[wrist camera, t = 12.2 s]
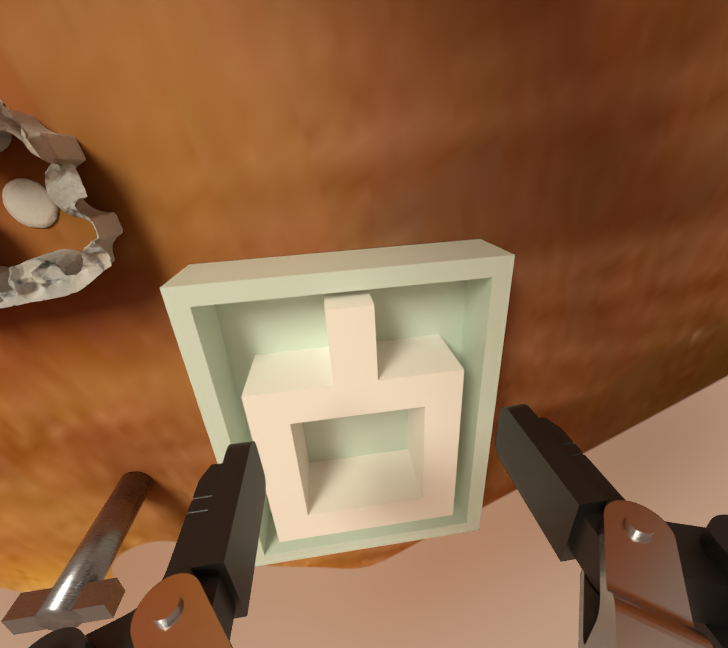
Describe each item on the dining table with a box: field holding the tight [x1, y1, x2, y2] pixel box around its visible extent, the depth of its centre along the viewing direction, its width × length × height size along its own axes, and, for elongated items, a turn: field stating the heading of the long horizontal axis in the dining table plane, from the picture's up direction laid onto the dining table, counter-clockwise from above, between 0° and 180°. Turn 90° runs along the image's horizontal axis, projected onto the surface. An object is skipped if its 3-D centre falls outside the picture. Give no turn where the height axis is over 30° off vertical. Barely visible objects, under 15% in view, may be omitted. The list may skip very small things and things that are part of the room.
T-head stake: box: [1, 472, 152, 635], centre depth 20 cm, size 2×5×8 cm, turn 93°
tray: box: [160, 239, 515, 566], centre depth 21 cm, size 20×16×4 cm
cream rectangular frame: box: [241, 290, 464, 542], centre depth 20 cm, size 15×11×4 cm
